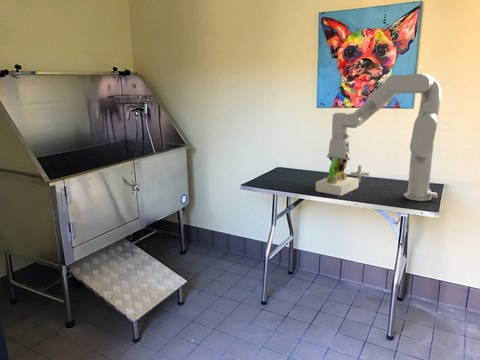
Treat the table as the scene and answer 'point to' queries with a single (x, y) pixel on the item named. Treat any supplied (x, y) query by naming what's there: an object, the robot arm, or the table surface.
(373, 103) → the robot arm
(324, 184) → the cream step
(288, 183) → the table surface
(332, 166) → the toy lion
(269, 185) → the table surface
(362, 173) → the pipe connector
